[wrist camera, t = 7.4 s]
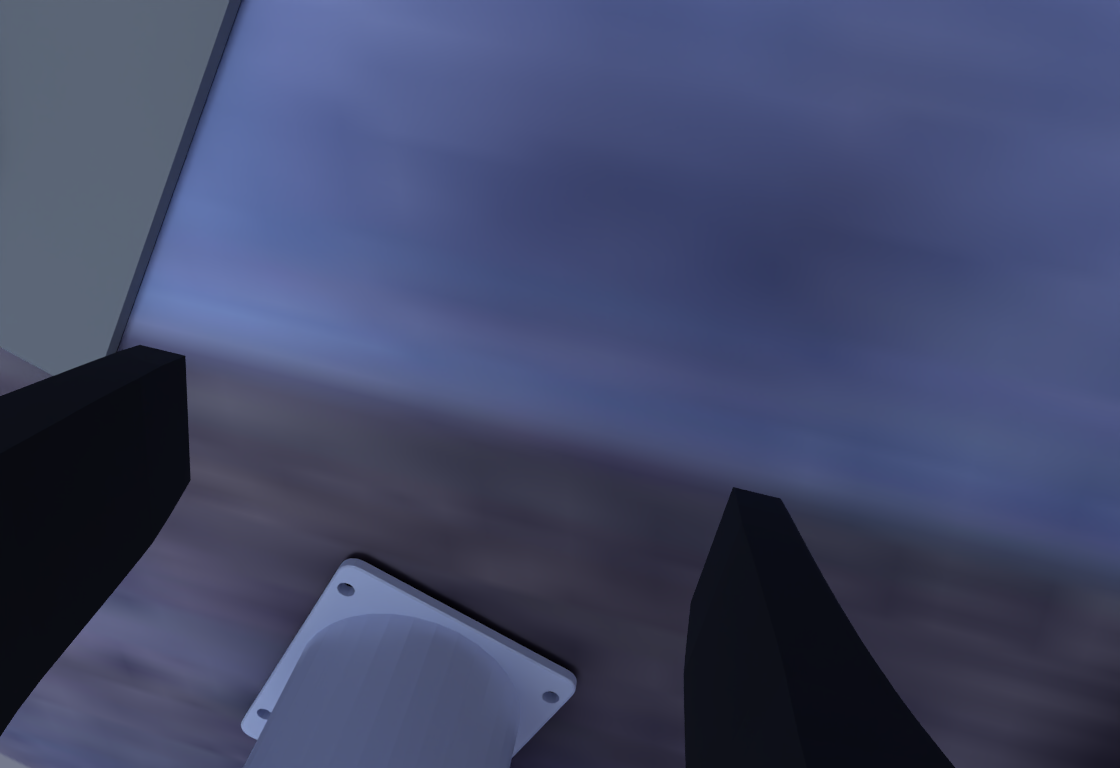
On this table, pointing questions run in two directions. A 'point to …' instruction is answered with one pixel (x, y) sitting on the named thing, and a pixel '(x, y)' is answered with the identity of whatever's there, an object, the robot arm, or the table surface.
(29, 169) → the mat
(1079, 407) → the table surface
